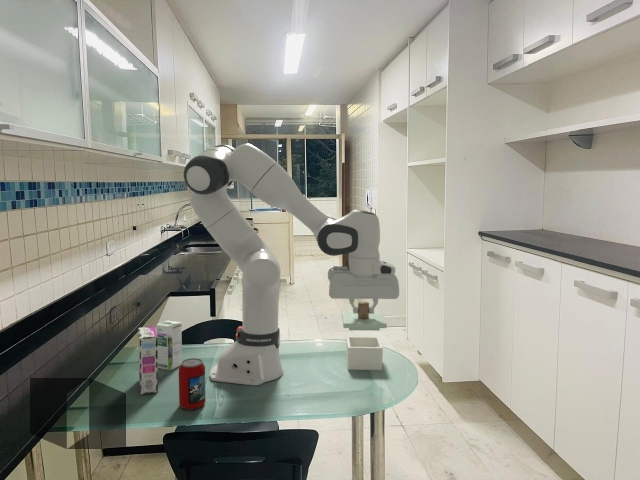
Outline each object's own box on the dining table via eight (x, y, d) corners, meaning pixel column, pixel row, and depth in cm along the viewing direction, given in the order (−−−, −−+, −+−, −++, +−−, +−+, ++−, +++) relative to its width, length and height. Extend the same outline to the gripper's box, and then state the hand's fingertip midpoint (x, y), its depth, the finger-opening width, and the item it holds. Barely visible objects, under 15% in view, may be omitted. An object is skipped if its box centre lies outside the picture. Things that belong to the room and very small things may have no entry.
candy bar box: (159, 392, 129) (157, 336, 127) (140, 395, 127) (138, 338, 125) (156, 377, 139) (155, 325, 137) (138, 380, 137) (137, 327, 135)
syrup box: (156, 368, 146) (155, 324, 144) (168, 361, 151) (168, 319, 150) (170, 371, 144) (169, 326, 142) (182, 364, 149) (182, 321, 148)
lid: (343, 332, 127) (343, 308, 126) (341, 319, 139) (342, 297, 138) (386, 332, 127) (386, 308, 126) (381, 320, 139) (381, 298, 138)
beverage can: (198, 412, 118) (197, 368, 116) (174, 409, 119) (173, 365, 118) (209, 400, 124) (209, 358, 123) (187, 398, 126) (186, 356, 124)
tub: (347, 371, 145) (348, 347, 145) (346, 358, 156) (346, 336, 155) (382, 372, 145) (382, 348, 144) (378, 359, 156) (378, 336, 155)
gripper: (327, 268, 128) (327, 316, 130) (400, 268, 128) (399, 316, 129) (327, 264, 134) (327, 310, 136) (397, 264, 134) (396, 310, 136)
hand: (363, 313), depth 133 cm, fingers closed on lid, 3 cm apart
